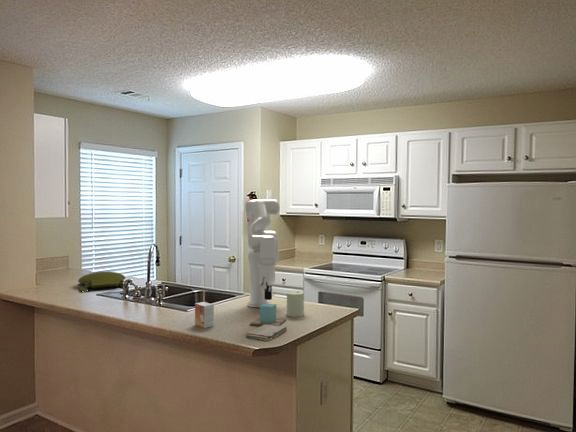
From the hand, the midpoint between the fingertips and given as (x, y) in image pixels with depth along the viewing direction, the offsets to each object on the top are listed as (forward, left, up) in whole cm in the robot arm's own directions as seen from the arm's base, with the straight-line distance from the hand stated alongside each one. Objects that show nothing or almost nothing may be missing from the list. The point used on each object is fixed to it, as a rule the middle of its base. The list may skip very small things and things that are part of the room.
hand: (268, 299), depth 221 cm
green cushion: (-56, -143, -13) cm, 154 cm away
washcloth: (+17, +5, -13) cm, 22 cm away
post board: (0, 0, -12) cm, 12 cm away
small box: (+12, -28, -12) cm, 33 cm away
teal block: (0, 0, -11) cm, 11 cm away
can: (-20, +8, -12) cm, 24 cm away
